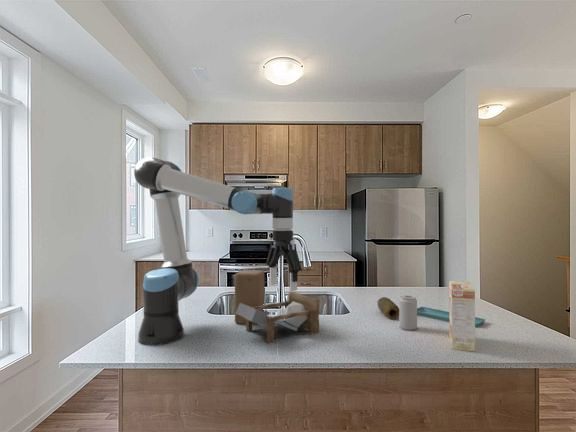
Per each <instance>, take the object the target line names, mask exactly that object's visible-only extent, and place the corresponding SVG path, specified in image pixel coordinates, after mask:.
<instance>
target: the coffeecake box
mask: <svg viewBox="0 0 576 432" xmlns="http://www.w3.org/2000/svg"><path fill="white" fill-rule="evenodd" d="M448 283H449V285H448V289H449V295H448V296H449V297H448V300H449V302H448V303H449V307H448V308H449V309H448V312H449V331H448V332H449V335H448V336H449V342H450V346H451V349H452V350H458V351H467V352H476V327H475V317H476V290H475V288H474V286H473V284H472V282H470V281H464V280H463V281H462V280H449V281H448Z"/></svg>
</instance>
